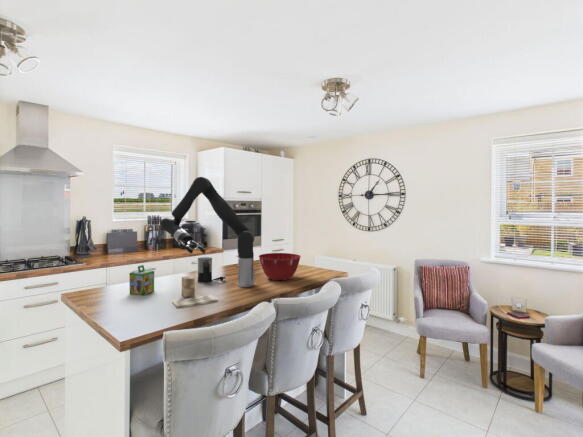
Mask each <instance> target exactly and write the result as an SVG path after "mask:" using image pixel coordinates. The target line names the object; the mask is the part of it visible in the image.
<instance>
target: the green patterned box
mask: <svg viewBox="0 0 583 437" xmlns="http://www.w3.org/2000/svg"><path fill="white" fill-rule="evenodd" d="M144 266H145V265H144V264H141V265H138V266H137V269H138V270H135V271H132V272H129V295H136V296H137V295H139V296H145V295H146V296H147V295H148V294H150V293H153V292H155V271H154V270H149V269H145V267H144Z"/></svg>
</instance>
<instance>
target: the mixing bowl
mask: <svg viewBox="0 0 583 437" xmlns="http://www.w3.org/2000/svg"><path fill="white" fill-rule="evenodd" d="M301 257H302V256H301V255H300V254H295V253H288V252H287V253H286V252H270V253H269V252H268V253H263V254H259V255H258V258H259V262H260V265H261V268H262V271H263V272H264V274H265V276H266V277H267V278H268V279H269V280H271V279H272V281H277V280H282V281H287V280H286V279H288V280H289V279H291V278H292V277H293V276H294V275H295V273H296V272H297V269H298V266H299V263H300V259H301Z"/></svg>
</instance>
